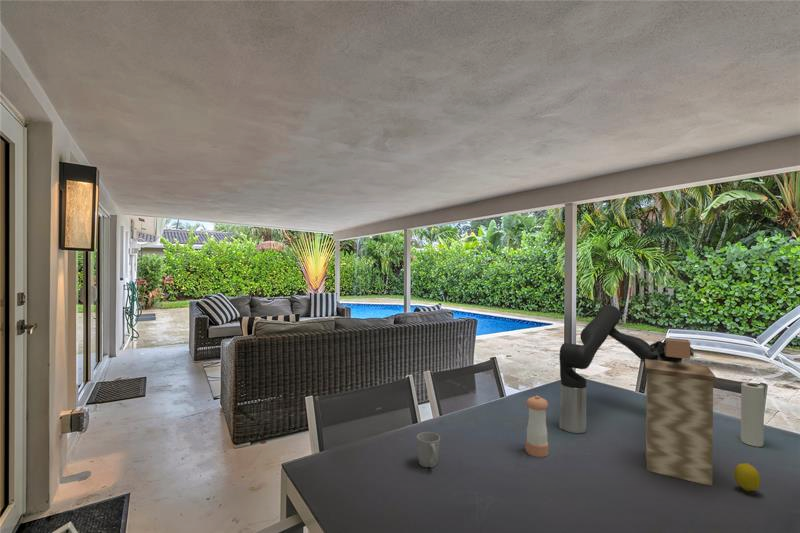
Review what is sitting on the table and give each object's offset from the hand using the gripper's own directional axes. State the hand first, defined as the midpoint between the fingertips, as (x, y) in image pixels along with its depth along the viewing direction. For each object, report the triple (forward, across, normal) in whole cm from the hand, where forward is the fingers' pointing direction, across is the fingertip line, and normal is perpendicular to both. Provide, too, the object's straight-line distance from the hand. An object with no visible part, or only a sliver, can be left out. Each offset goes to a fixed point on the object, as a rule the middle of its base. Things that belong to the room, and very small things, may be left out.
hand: (673, 340), depth 134 cm
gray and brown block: (+4, 0, +5) cm, 7 cm away
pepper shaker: (+4, -40, +47) cm, 62 cm away
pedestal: (-7, 0, +40) cm, 41 cm away
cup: (+28, -67, +61) cm, 95 cm away
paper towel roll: (-39, +26, +22) cm, 52 cm away
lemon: (-3, +16, +43) cm, 46 cm away
